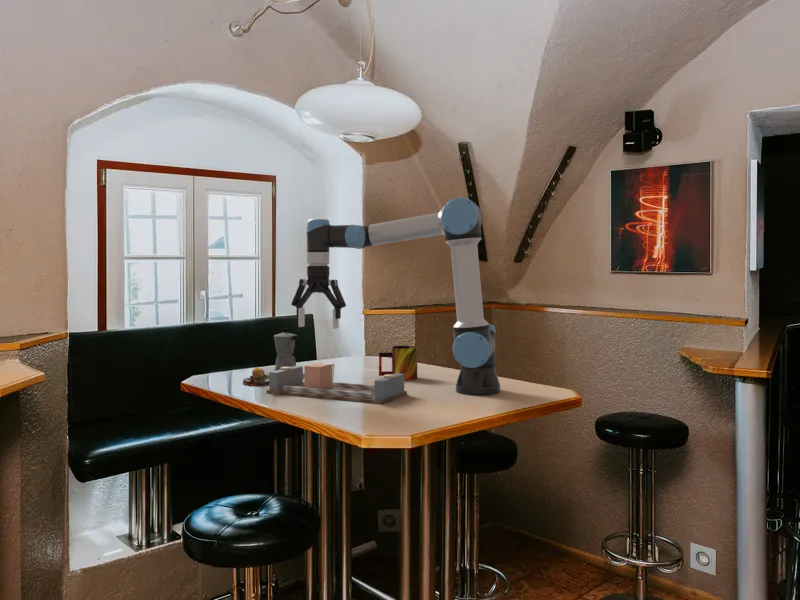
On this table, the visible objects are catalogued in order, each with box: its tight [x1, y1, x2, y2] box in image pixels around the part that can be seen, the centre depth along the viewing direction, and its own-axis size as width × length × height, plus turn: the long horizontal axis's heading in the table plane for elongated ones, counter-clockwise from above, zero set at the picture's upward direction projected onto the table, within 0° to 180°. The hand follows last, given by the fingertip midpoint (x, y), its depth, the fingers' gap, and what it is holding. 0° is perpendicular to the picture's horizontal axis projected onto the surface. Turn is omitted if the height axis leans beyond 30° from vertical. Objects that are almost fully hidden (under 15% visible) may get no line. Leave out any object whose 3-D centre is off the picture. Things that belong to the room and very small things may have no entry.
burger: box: [242, 367, 270, 387], centre depth 253 cm, size 12×12×8 cm
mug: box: [378, 345, 418, 381], centre depth 262 cm, size 10×14×12 cm
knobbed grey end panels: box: [268, 365, 405, 400], centre depth 232 cm, size 44×16×7 cm, turn 65°
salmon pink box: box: [304, 362, 332, 389], centre depth 235 cm, size 6×8×8 cm
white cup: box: [320, 361, 336, 382], centre depth 255 cm, size 7×7×7 cm
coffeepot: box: [273, 327, 300, 371], centre depth 276 cm, size 15×9×18 cm, turn 43°
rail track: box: [266, 381, 408, 405], centre depth 232 cm, size 44×18×2 cm, turn 65°
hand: (318, 327), depth 235 cm, fingers open, 13 cm apart
